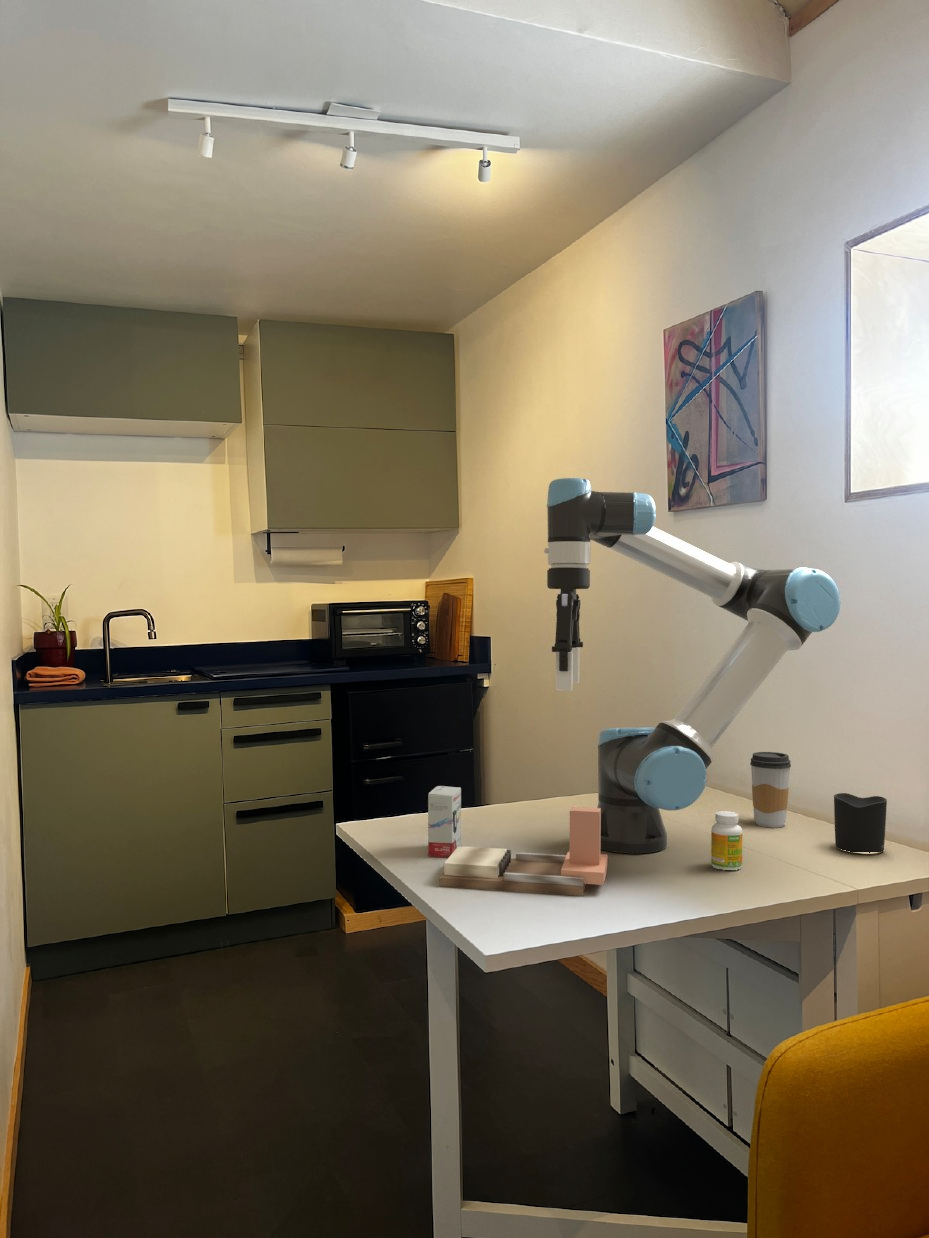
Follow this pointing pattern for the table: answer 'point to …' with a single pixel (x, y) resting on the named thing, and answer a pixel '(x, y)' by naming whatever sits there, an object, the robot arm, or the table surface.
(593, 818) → the stub
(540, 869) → the board
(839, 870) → the table surface
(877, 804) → the pen holder
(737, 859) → the supplement bottle
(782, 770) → the coffee cup
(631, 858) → the table surface
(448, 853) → the ink box
